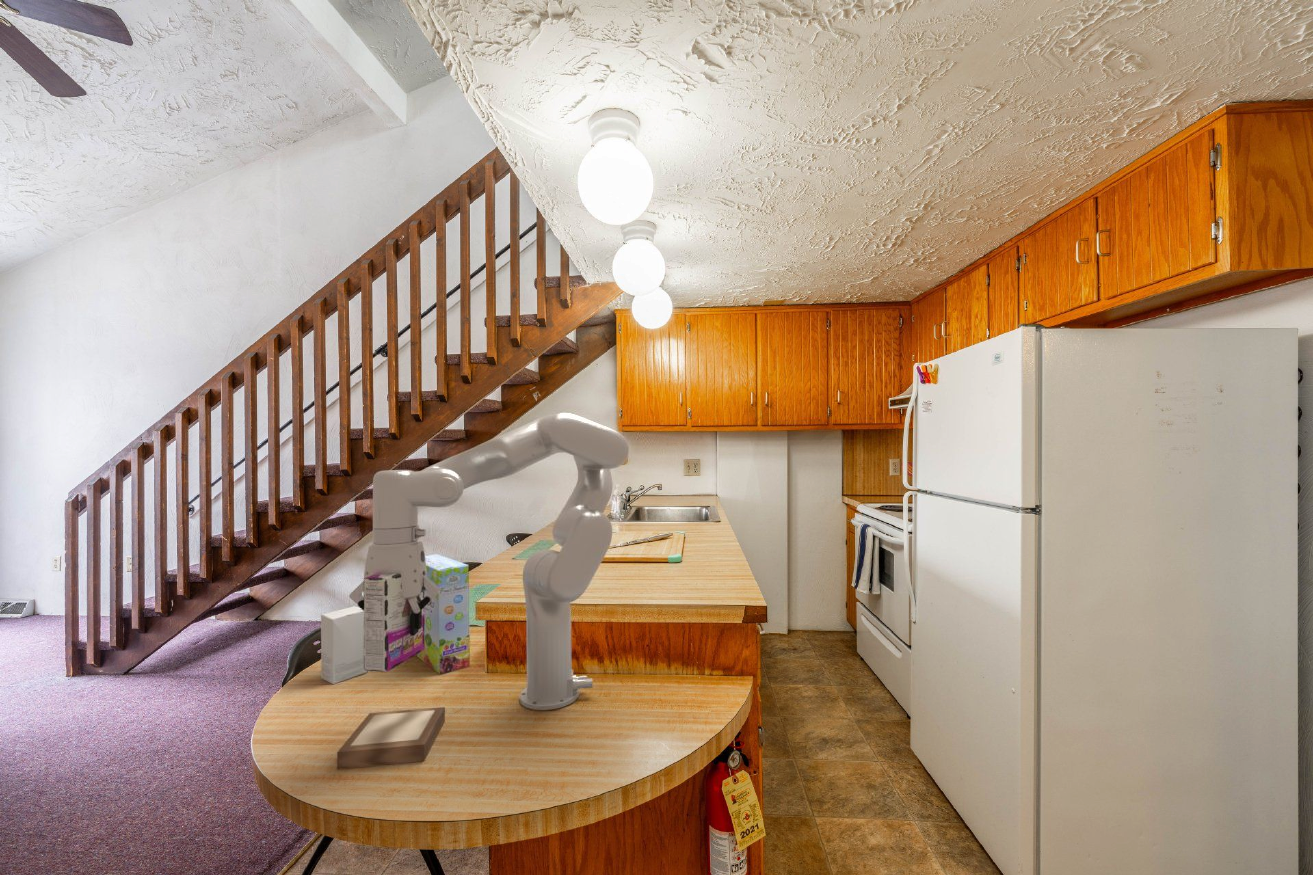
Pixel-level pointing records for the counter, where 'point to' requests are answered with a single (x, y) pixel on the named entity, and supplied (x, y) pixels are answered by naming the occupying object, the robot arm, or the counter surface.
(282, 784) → the counter surface
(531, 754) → the counter surface
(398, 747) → the base
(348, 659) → the skincare box
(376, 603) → the candy bar box
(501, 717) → the counter surface
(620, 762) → the counter surface
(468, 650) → the snack box
